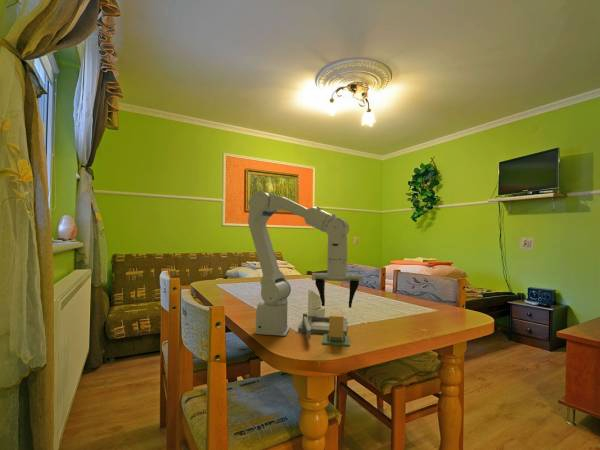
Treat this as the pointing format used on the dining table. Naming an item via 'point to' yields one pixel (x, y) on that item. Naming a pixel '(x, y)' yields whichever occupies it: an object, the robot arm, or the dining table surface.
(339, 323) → the plug
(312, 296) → the white wedge bracket
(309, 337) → the retaining bar
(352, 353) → the dining table surface
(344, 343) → the pad
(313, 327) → the dock plate
